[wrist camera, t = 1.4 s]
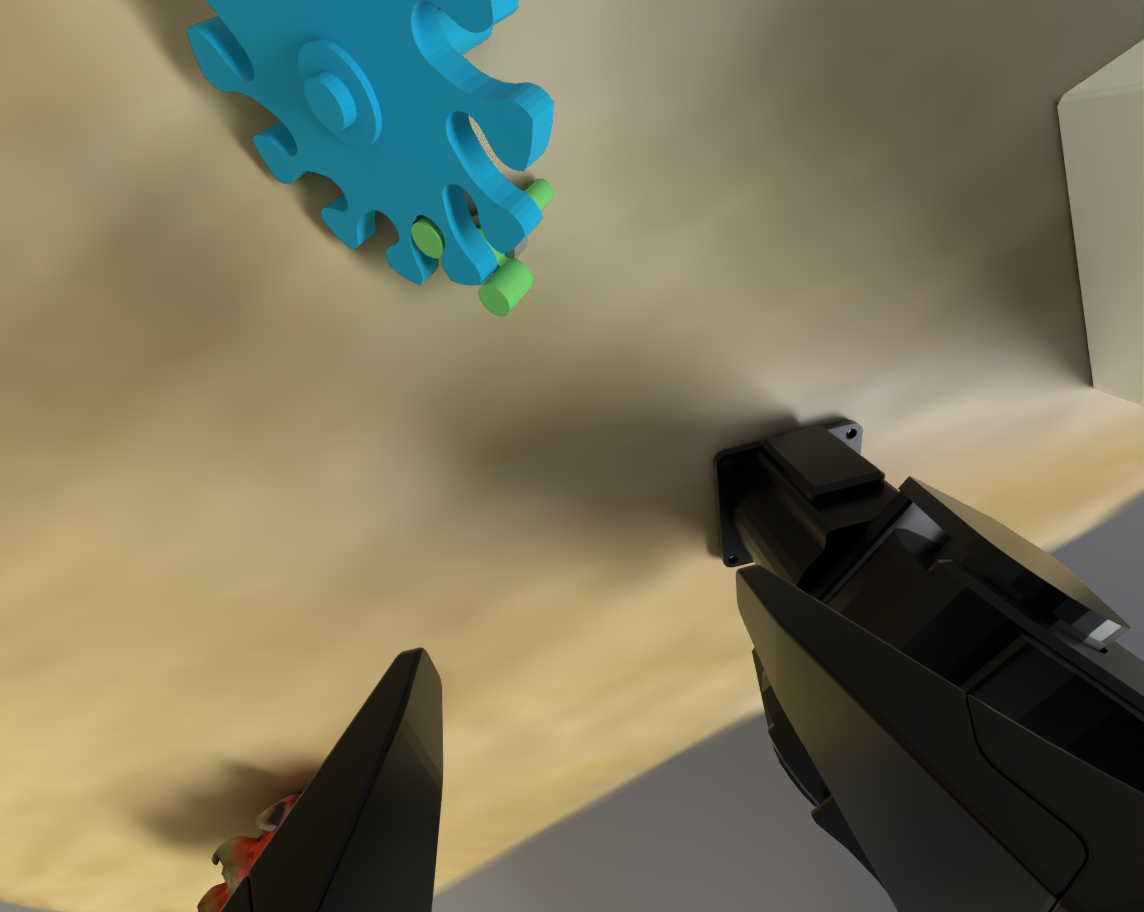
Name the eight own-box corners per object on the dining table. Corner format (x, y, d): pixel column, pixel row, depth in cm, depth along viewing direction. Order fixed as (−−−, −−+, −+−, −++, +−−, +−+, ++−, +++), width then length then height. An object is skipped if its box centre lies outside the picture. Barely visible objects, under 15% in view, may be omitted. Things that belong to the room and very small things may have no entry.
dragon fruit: (254, 822, 33) (380, 709, 32) (327, 938, 32) (462, 824, 31) (116, 934, 25) (278, 787, 24) (206, 1099, 23) (384, 950, 22)
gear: (64, -45, 11) (151, -673, 5) (265, -103, 14) (496, -548, 7) (392, 344, 18) (620, 309, 11) (485, 252, 21) (711, 181, 14)
